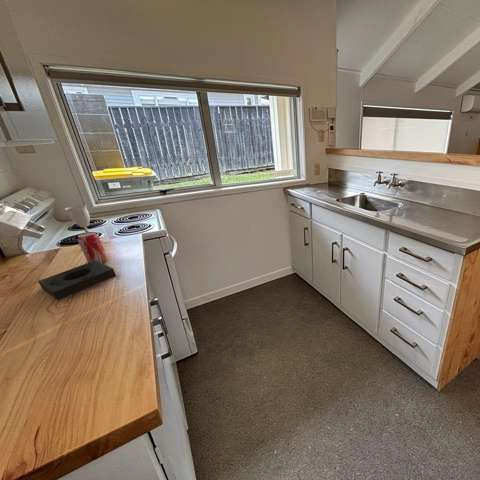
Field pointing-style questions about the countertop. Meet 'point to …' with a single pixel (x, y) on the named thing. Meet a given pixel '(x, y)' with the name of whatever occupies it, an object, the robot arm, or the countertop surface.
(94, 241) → the beverage can
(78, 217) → the chalice
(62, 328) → the countertop surface
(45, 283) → the dock pad
